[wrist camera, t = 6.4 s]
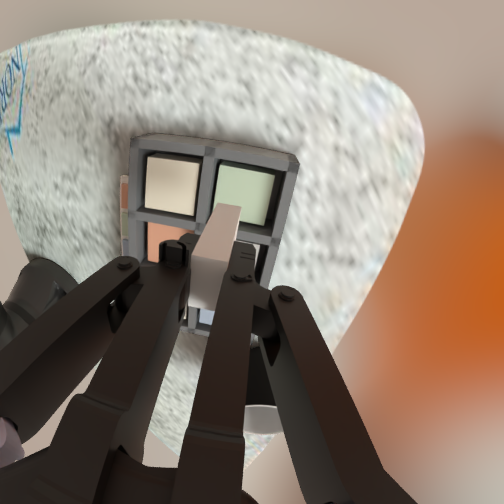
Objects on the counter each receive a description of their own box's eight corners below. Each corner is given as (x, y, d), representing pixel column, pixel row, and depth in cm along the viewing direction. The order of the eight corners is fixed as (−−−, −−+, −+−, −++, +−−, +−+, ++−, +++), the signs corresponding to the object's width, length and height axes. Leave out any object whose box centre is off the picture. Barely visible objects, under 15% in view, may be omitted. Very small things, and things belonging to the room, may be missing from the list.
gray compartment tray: (127, 290, 32) (112, 311, 29) (125, 131, 23) (101, 136, 19) (254, 318, 33) (251, 345, 29) (295, 155, 23) (299, 164, 20)
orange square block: (155, 250, 28) (148, 260, 26) (156, 211, 26) (148, 219, 24) (195, 259, 28) (190, 269, 26) (199, 219, 26) (194, 227, 24)
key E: (216, 207, 25) (212, 215, 23) (224, 160, 23) (219, 164, 21) (264, 217, 25) (263, 225, 24) (274, 170, 23) (275, 175, 21)
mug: (231, 336, 35) (220, 401, 26) (300, 340, 34) (304, 406, 26) (234, 385, 41) (226, 439, 32) (289, 388, 40) (290, 443, 31)
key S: (153, 200, 24) (145, 207, 23) (157, 153, 22) (147, 157, 20) (199, 207, 24) (193, 215, 23) (205, 159, 22) (199, 163, 20)
